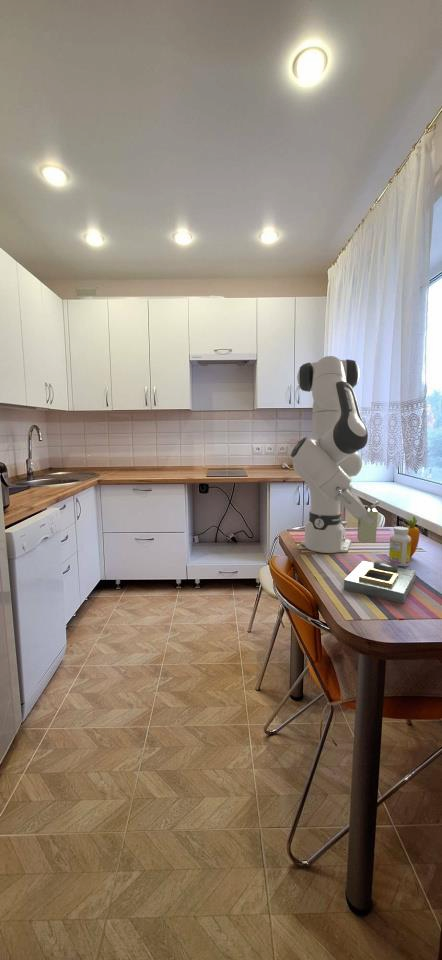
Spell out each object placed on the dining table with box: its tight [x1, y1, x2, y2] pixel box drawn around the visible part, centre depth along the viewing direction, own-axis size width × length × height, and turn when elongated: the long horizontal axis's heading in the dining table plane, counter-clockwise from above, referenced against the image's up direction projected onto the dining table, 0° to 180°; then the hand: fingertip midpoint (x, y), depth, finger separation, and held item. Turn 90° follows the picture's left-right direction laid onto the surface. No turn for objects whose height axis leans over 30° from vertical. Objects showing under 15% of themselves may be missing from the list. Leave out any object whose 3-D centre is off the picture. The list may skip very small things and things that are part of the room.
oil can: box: [356, 500, 380, 544], centre depth 109 cm, size 4×5×12 cm
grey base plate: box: [343, 560, 417, 604], centre depth 116 cm, size 22×16×4 cm
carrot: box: [405, 516, 421, 558], centre depth 139 cm, size 5×5×15 cm
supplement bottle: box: [388, 526, 411, 567], centre depth 133 cm, size 7×7×13 cm
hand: (369, 520), depth 109 cm, fingers closed on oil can, 4 cm apart
